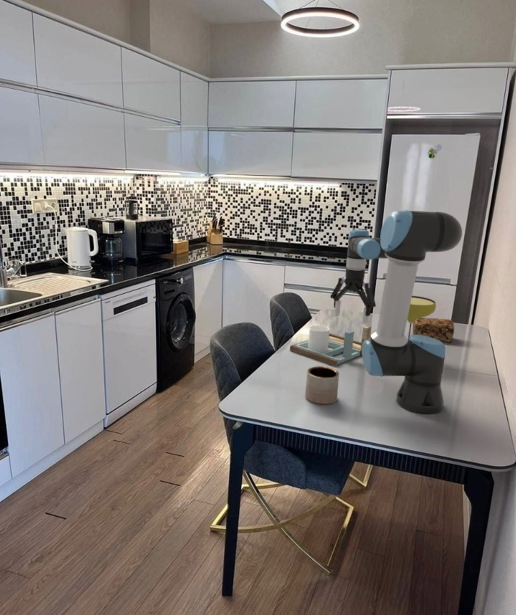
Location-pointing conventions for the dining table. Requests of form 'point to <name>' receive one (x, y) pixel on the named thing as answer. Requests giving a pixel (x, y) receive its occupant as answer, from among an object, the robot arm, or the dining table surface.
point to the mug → (318, 339)
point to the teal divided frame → (338, 348)
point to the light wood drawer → (365, 336)
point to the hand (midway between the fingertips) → (350, 319)
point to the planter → (322, 385)
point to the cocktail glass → (419, 309)
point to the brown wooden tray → (317, 356)
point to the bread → (434, 328)
